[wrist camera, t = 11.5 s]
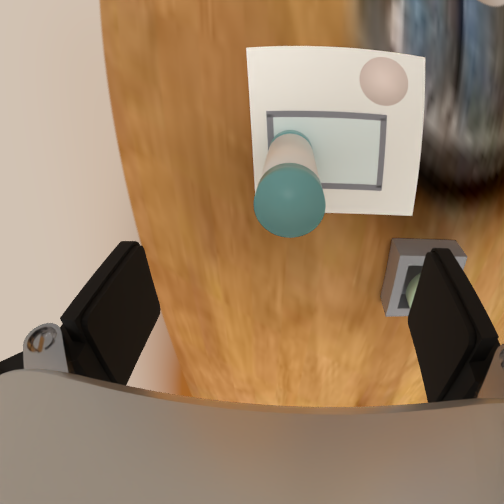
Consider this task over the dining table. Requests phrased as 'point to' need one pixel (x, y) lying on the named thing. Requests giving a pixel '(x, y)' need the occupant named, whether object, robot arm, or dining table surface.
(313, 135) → the sheet
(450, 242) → the button housing
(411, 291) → the button
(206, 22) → the dining table surface
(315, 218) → the marker
